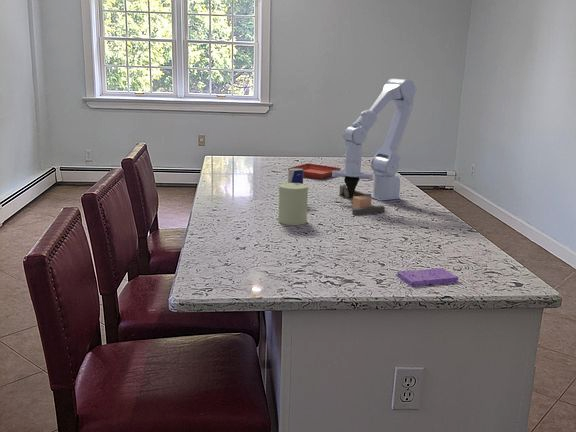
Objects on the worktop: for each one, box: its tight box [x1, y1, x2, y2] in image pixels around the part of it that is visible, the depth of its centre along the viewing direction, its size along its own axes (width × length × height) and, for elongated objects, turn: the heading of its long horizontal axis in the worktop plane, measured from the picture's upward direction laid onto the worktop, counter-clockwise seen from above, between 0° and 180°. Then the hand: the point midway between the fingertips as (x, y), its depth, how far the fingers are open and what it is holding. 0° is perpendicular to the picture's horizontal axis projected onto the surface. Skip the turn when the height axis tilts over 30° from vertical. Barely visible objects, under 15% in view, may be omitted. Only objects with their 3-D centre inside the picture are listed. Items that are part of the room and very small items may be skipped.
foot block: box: [351, 196, 372, 210], centre depth 208 cm, size 4×4×4 cm
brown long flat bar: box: [344, 186, 366, 199], centre depth 222 cm, size 1×13×3 cm, turn 27°
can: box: [277, 182, 309, 226], centre depth 190 cm, size 9×9×12 cm
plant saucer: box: [287, 162, 342, 180], centre depth 269 cm, size 18×18×3 cm
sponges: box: [396, 267, 459, 287], centre depth 144 cm, size 7×13×2 cm, turn 108°
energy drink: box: [287, 167, 304, 184], centre depth 216 cm, size 5×5×12 cm
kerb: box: [352, 205, 386, 216], centre depth 204 cm, size 12×2×2 cm, turn 117°
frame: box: [338, 184, 373, 202], centre depth 222 cm, size 4×19×4 cm, turn 27°
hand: (351, 197), depth 220 cm, fingers closed
